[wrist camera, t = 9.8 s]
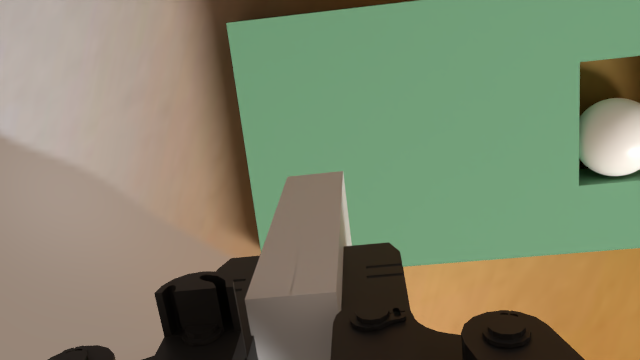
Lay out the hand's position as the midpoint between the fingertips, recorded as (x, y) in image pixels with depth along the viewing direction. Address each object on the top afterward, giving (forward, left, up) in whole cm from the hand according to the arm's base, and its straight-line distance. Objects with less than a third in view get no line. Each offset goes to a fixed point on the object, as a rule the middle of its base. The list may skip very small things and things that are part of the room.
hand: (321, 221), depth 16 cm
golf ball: (+2, +12, -13) cm, 18 cm away
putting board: (+1, +7, -14) cm, 15 cm away
